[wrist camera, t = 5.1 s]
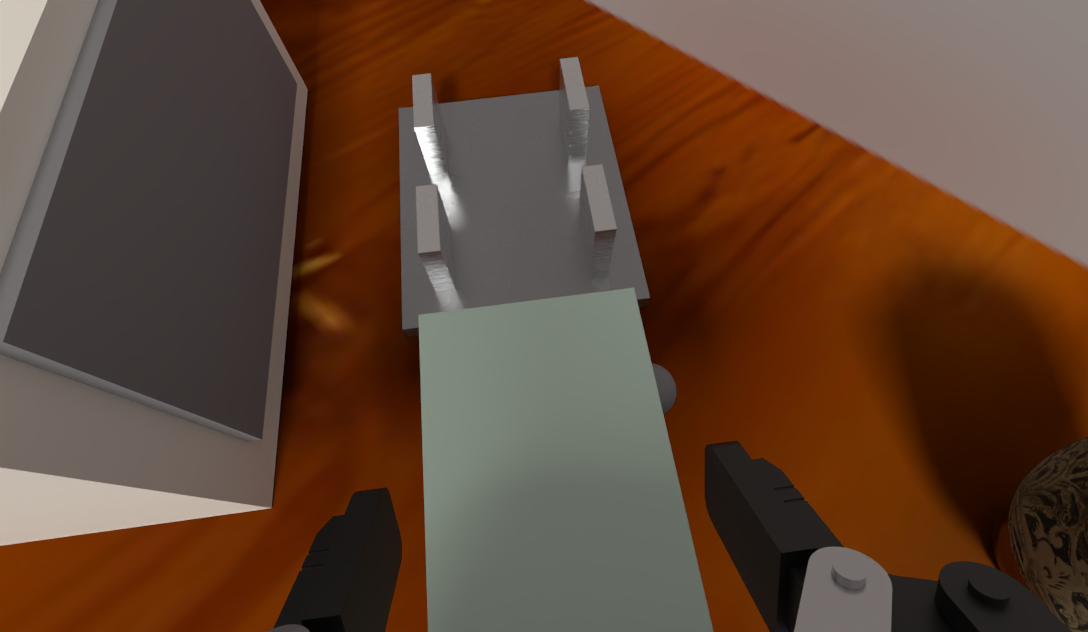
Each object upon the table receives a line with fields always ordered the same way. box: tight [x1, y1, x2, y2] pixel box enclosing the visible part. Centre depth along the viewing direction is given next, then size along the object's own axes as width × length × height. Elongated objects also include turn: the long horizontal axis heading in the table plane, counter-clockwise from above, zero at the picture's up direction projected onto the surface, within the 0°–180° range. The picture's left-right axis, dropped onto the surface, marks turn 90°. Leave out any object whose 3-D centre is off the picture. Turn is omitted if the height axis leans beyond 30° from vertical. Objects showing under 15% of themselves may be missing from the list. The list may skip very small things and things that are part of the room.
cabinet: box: [0, 0, 308, 546], centre depth 17 cm, size 10×21×12 cm, turn 8°
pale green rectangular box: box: [418, 288, 713, 632], centre depth 13 cm, size 5×7×11 cm
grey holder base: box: [399, 57, 650, 337], centre depth 22 cm, size 10×12×4 cm
